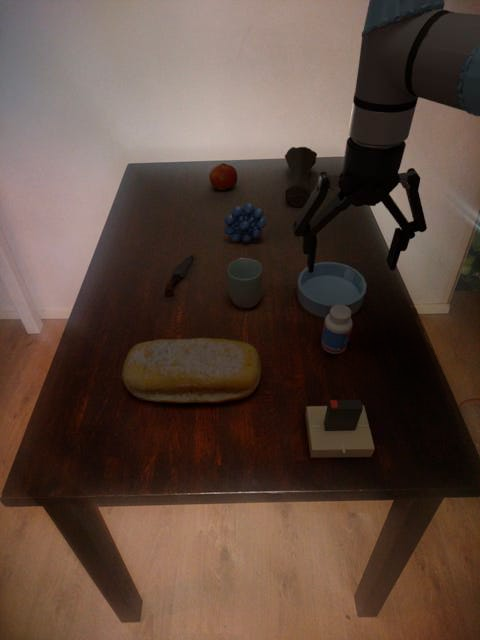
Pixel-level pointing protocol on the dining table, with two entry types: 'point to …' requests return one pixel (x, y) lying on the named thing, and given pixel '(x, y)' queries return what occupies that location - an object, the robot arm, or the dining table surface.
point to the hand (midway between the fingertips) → (350, 266)
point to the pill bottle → (337, 329)
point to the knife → (178, 275)
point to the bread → (192, 370)
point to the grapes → (245, 223)
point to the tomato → (223, 176)
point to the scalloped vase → (299, 175)
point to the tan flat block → (337, 437)
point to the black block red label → (342, 415)
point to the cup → (245, 282)
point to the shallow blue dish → (330, 288)
